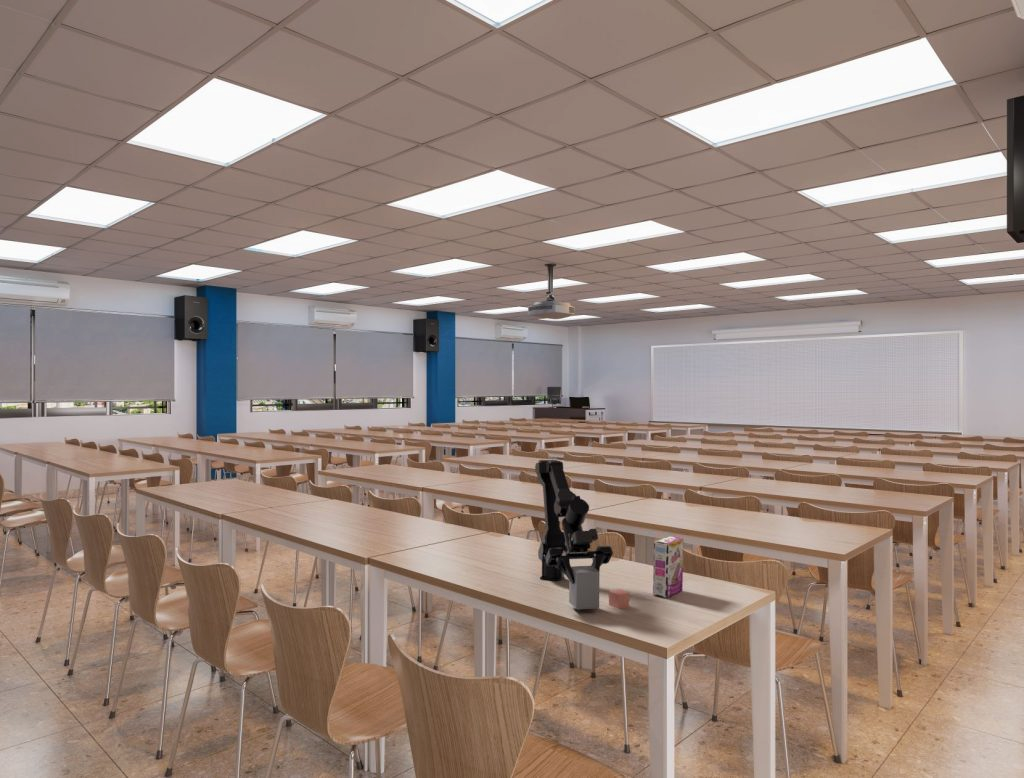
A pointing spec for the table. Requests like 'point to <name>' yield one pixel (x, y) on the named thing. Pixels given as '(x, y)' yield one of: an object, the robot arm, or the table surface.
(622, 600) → the red block
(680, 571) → the candy bar box
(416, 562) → the table surface
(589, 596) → the grey upright block
